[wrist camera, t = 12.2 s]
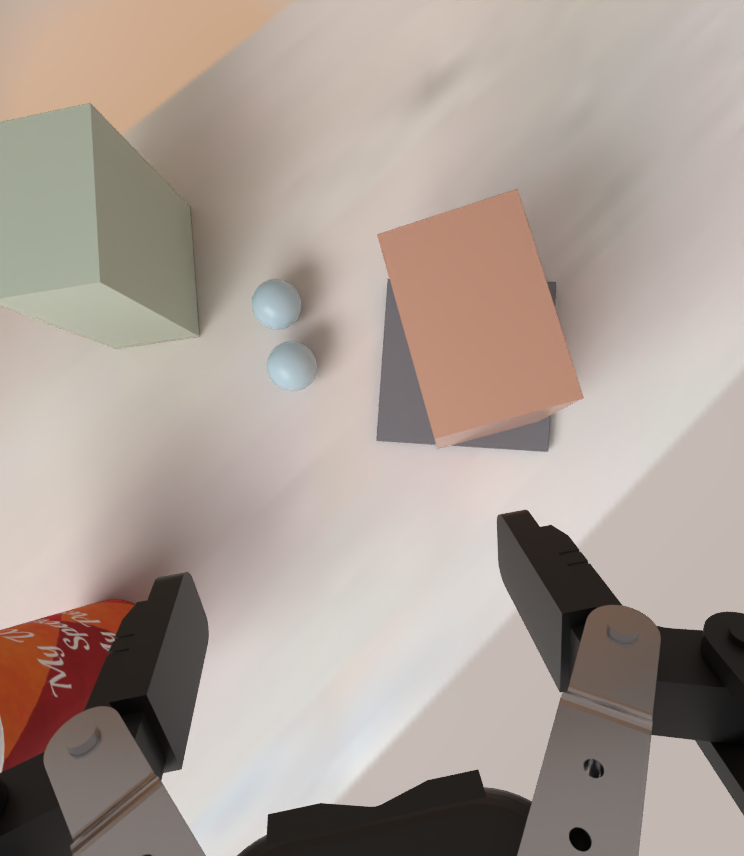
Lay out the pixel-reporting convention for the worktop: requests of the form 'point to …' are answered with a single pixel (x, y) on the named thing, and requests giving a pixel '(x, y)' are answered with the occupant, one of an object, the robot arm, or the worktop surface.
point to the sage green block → (92, 233)
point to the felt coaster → (406, 407)
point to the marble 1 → (276, 304)
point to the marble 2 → (291, 366)
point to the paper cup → (51, 674)
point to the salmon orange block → (479, 320)
